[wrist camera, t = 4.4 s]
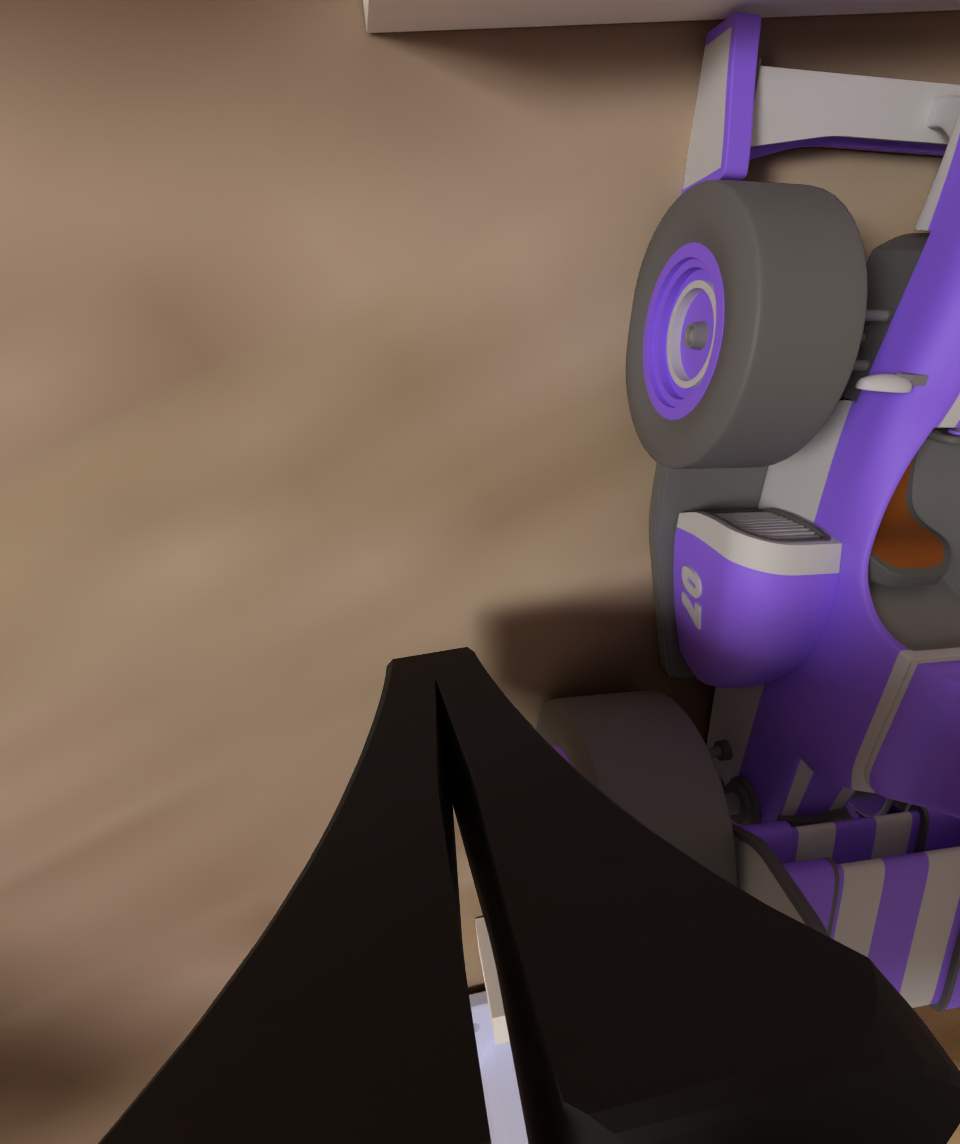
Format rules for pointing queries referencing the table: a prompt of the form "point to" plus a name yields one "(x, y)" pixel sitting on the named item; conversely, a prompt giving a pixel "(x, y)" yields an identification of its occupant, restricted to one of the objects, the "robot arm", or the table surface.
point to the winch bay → (531, 3)
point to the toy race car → (802, 523)
